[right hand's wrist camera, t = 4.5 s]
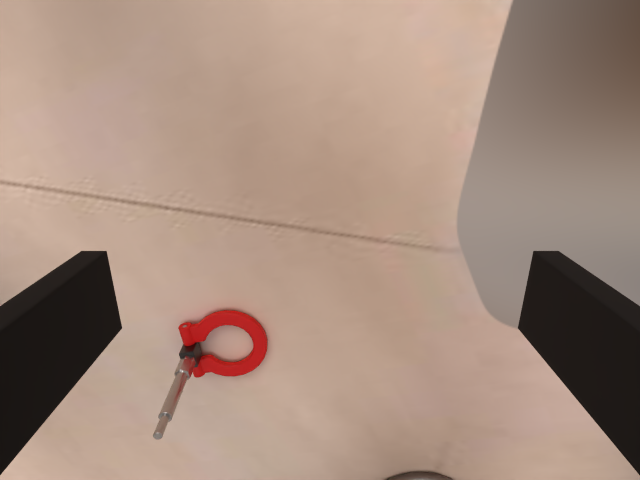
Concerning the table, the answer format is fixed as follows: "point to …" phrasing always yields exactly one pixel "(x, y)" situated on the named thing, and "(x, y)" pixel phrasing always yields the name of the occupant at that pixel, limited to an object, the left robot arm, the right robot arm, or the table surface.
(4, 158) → the table surface
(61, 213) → the table surface
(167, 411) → the tow hook
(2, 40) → the table surface
